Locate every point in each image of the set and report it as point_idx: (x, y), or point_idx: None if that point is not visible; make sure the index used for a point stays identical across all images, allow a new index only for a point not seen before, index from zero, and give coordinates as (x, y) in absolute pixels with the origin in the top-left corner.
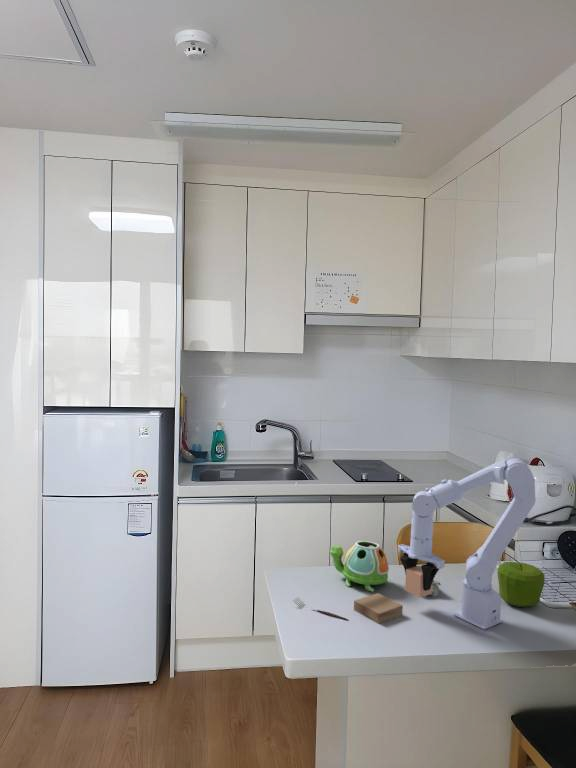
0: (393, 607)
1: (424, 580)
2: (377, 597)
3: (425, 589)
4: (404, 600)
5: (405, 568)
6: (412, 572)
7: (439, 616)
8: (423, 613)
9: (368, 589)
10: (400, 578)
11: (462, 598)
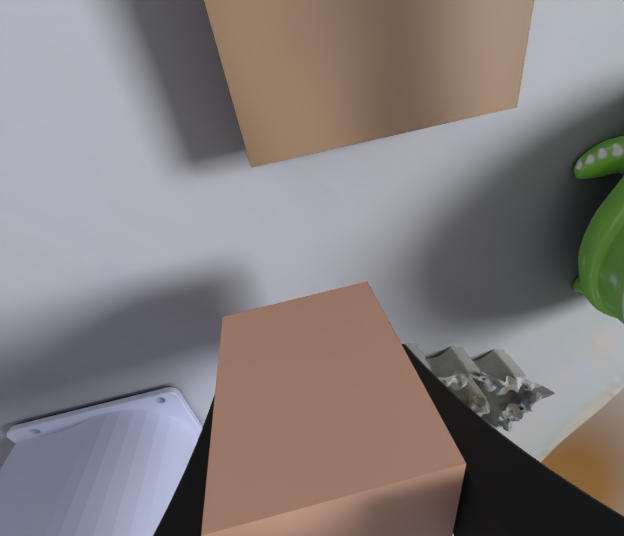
0: (237, 52)
1: (199, 483)
2: (466, 40)
3: (212, 402)
4: (397, 269)
5: (496, 455)
6: (349, 483)
7: (181, 331)
8: (233, 280)
9: (610, 142)
10: (551, 356)
11: (131, 497)
